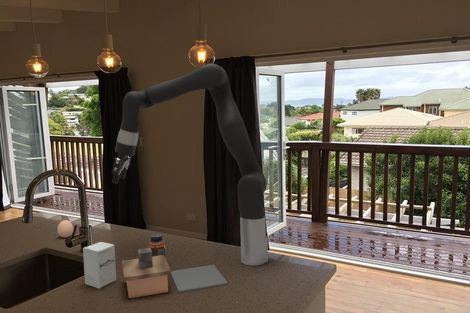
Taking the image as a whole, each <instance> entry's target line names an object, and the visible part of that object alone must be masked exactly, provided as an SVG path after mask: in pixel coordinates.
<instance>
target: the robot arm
mask: <svg viewBox="0 0 470 313" xmlns="http://www.w3.org/2000/svg"><path fill="white" fill-rule="evenodd" d="M229 81H230V80H229V77H228V73H227V71H226V70H225V69H224V68H223V67H222V66H221V65H218V64H217V63H213V62H212V63H207V64H204V65H203V66H201V67H199V68H197V69H195V70H193V71H192V72H189V73H187V74H184V75H182V76H180V77H176V78H174V79H173V78H172V79H171V80H167V81H163V82H160V83H157V84H154V85H151V86H150V87H149V88H147V89H144V90H140V91H136V90H135V91H134V90H133V91H132V90H131V91H128V92H127V93H126V94H125V96H124V97H123V101H122V119H121V124H120V128H119V129H120V130H119V132H118V135H117V139H116V144H115V149H114V151H115V153H117V154H118V156H117V157H114V160H113V161H114V162H113V165H112V169H111V174H112V179H111V183H112V184H114V185H117V184H118V183H119V179H122V180H123V179H125V177H126V173H127V170H128V168H129V167H130V166H131V165H130V164H131V159H132V156H135V152H136V148H137V144H138V140H139V134H140V128H141V124H142V120H141V118H140V117H139V116H140V111H142V110H146V109H149V108H151V107H153V106H155V105H160V104H162V103H165V102H166V103H167V102H169V101H172V100H174V99H177V98H179V97H181V96H182V95H186V94H187V93H190V92H194V91H198V90H206V89H207V90H208V91H209V93H210V95H211V97H212V101H213V103H214V105H215V109H216V118H217V124H218V129H219V132H220V134H221V137H222V139H223V143H224V144H225V147H226V149H228V151H229V153H230V154H231V155H232V156H233V159H235V161H236V163H237V165H238V168H239V171H240V174H241V178H240V179H239V181H238V183H237V204H238V205H237V206H238V207H237V208H238V211H239V215H240V217H239V218H240V221H239V222H240V224H239V225H240V262H241V263H242V264H243V265H245V266H261V265H264V264H266V263H268V262H269V252H268V248H269V246H268V245H269V244H268V241H269V238H268V236H267V235H266V234H267V233H266V209H265V206H264V200H263V199H264V198H263V197H264V193H265V192H266V190H267V185H268V183H267V179H266V177H265V174H264V173H263V170H262V168H261V167H260V164H259V162H258V160H257V158H256V155H255V153H254V148H253V145H252V143H251V140H250V136H249V133H248V130H247V128H246V125H245V123H244V119H243V118H242V115H241V113H240V110H239V108H238V105H237V103H236V101H235V100H234V96H233V93H232V89H231V85H230V82H229Z"/></svg>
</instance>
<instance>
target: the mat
mask: <svg viewBox="0 0 470 313" xmlns="http://www.w3.org/2000/svg"><path fill="white" fill-rule="evenodd" d="M170 275H171V278H172V280H173V283H174V285H175V287H176V289H177V292H178V293H180V294H181V293H187V292H191V291H192V292H193V291H198V290H204V289H209V288H214V287H215V288H216V287H220V286H227V285H228V281H227V280H226V279H225V277H224V276H223V274H221V271H220V270H219V269H218V268H217V267H216V266H215V264H209V265H202V266H196V267H195V266H194V267H189V268H183V269H176V270H171V274H170Z"/></svg>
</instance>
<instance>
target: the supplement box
mask: <svg viewBox="0 0 470 313" xmlns="http://www.w3.org/2000/svg"><path fill="white" fill-rule="evenodd" d="M115 249H116V248H115V244H113V243H108V242H103V241H99V242H96V243H93V244H91V245H89V246H85V247H83V248H82V252H83V254H82V256H83V270H84V271H83V272H84V284H85V285H88V286H91V287H93V288H96V289H98V290H99V289H101V288H103V287H105V286H107V285H109V284H112V283H114V282H115V281H117V267H116V250H115Z"/></svg>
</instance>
